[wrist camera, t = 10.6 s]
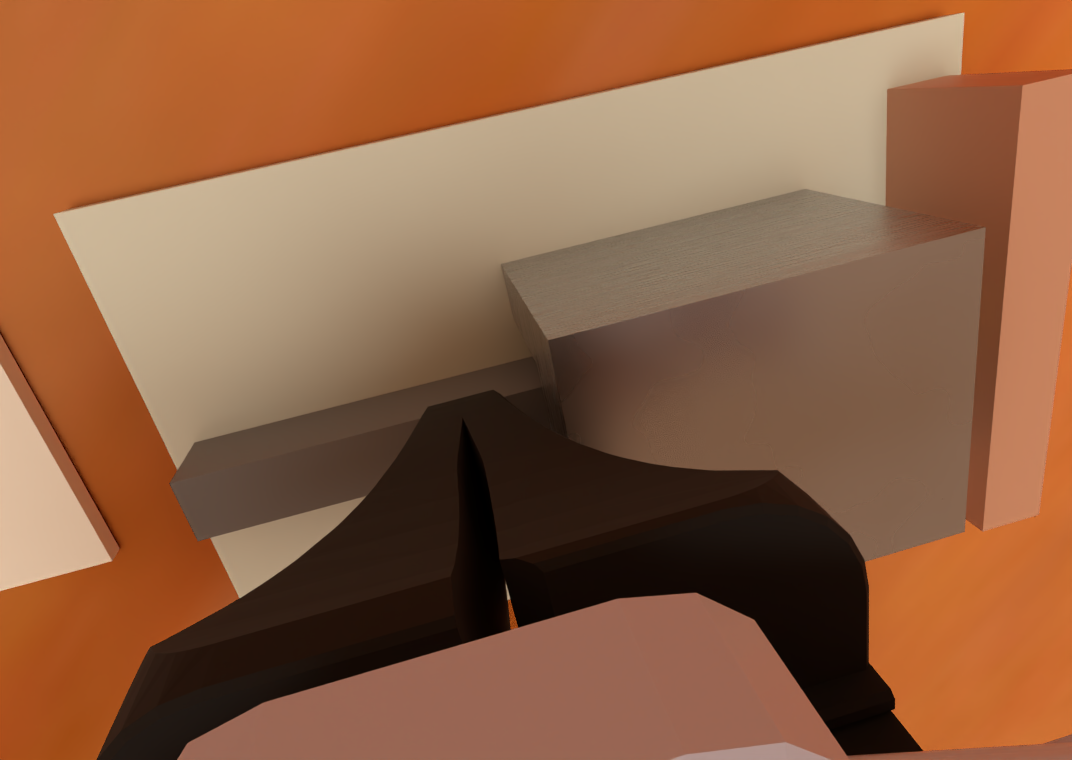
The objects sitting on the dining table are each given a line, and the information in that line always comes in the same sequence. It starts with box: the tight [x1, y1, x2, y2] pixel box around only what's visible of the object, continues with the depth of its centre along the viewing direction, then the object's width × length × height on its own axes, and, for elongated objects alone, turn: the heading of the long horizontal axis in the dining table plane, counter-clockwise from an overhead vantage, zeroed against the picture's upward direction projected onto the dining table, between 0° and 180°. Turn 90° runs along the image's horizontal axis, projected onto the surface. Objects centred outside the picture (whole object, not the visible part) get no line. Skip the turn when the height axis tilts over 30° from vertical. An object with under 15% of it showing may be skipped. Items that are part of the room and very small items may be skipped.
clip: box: [501, 189, 986, 562], centre depth 12 cm, size 5×6×4 cm
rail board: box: [54, 13, 1072, 600], centre depth 12 cm, size 10×16×4 cm, turn 101°
